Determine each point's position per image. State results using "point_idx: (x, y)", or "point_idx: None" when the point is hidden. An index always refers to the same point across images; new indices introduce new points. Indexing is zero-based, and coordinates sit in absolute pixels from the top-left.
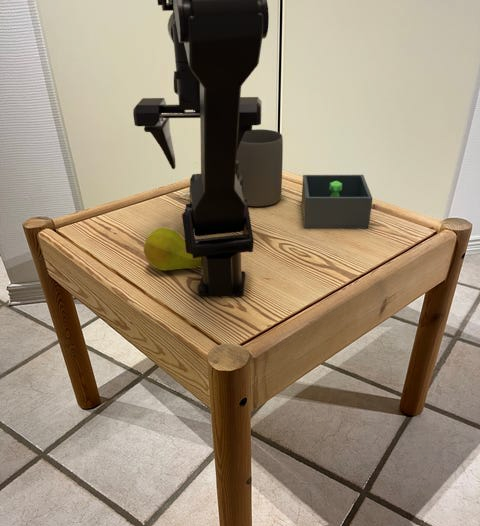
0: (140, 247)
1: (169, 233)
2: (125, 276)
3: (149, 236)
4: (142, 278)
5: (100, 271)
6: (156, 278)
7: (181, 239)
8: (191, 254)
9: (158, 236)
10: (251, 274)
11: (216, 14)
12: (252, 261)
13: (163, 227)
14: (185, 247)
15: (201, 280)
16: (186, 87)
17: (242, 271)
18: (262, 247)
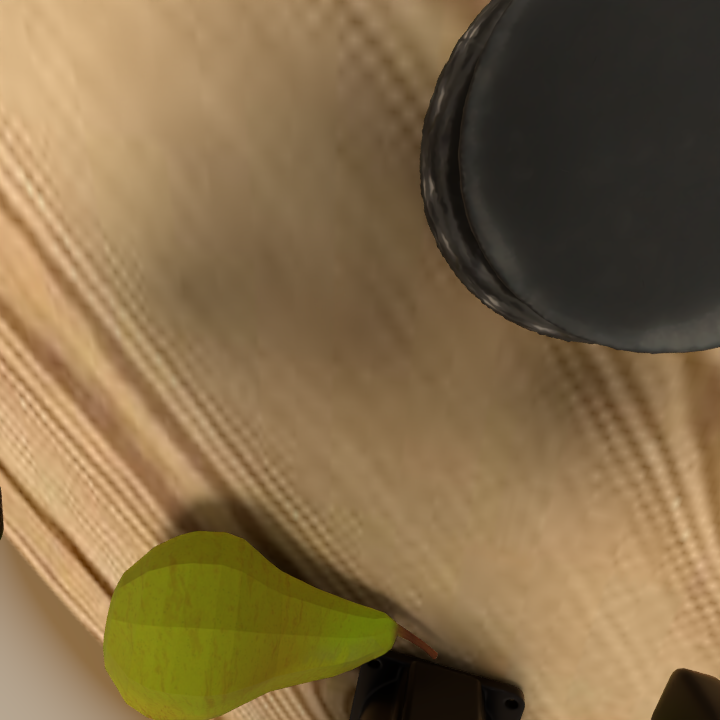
0: (114, 384)
1: (188, 710)
2: (106, 577)
3: (108, 670)
4: None
5: (19, 526)
6: None
7: (253, 688)
8: (310, 681)
9: (144, 715)
10: (550, 688)
11: None
12: (580, 608)
13: (150, 690)
14: (279, 686)
15: (356, 702)
16: None
17: (515, 696)
18: (667, 510)
